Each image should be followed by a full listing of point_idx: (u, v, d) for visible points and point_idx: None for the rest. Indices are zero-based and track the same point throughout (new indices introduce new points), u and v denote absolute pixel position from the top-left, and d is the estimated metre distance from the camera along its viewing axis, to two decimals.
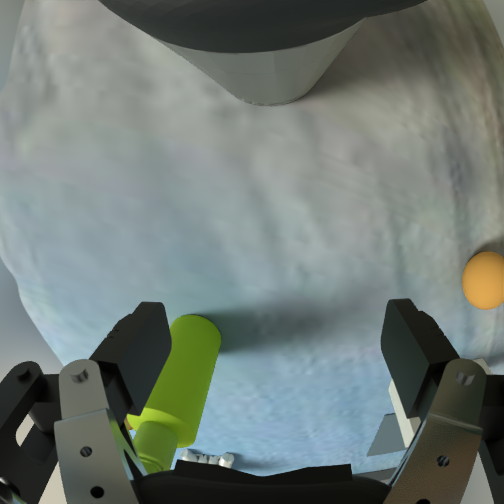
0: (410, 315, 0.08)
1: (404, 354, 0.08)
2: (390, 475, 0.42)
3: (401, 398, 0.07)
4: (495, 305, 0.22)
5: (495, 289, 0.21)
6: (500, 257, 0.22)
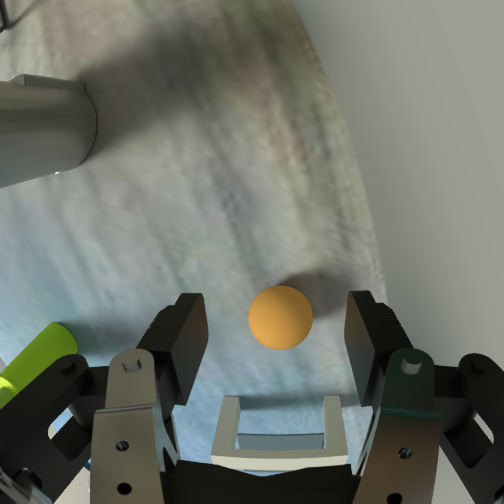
0: (366, 306, 0.09)
1: (359, 343, 0.09)
2: None
3: (358, 386, 0.08)
4: (279, 346, 0.26)
5: (268, 329, 0.25)
6: (286, 294, 0.26)
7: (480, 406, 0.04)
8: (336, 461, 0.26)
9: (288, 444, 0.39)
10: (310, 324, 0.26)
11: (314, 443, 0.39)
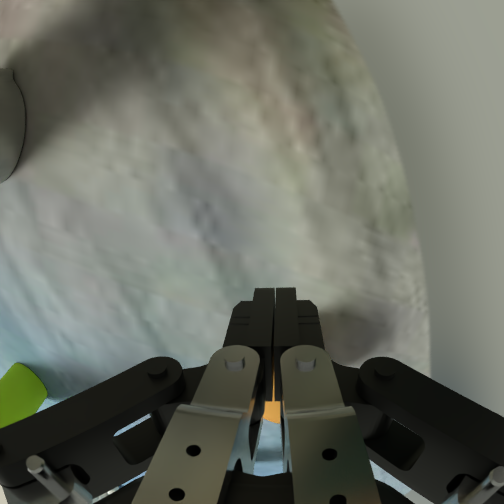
0: (284, 302, 0.10)
1: None
2: None
3: None
4: None
5: (270, 406, 0.16)
6: None
7: (398, 414, 0.05)
8: None
9: None
10: None
11: None
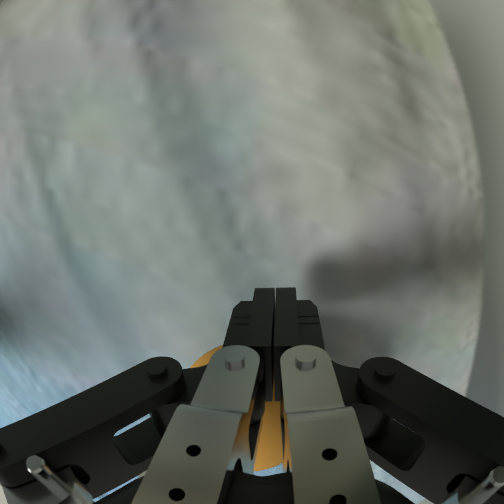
0: (285, 302, 0.10)
1: None
2: None
3: None
4: None
5: None
6: None
7: (398, 414, 0.05)
8: None
9: None
10: None
11: None
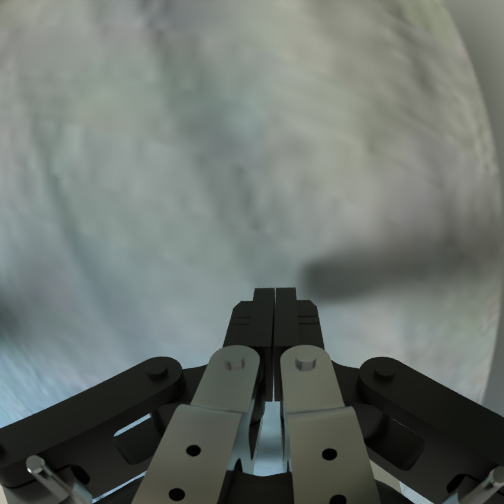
0: (285, 302, 0.10)
1: None
2: None
3: None
4: None
5: None
6: None
7: (397, 414, 0.05)
8: None
9: None
10: None
11: None
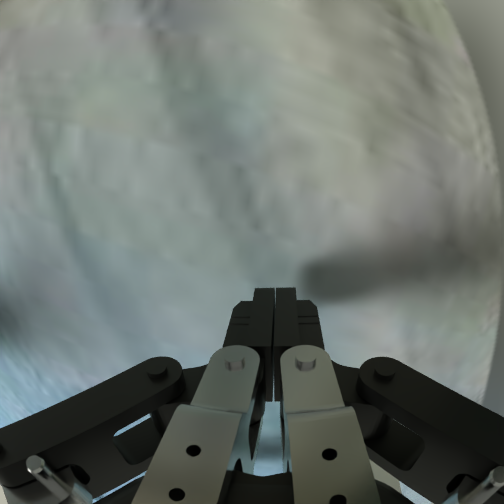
0: (285, 302, 0.10)
1: None
2: None
3: None
4: None
5: None
6: None
7: (397, 414, 0.05)
8: None
9: None
10: None
11: None
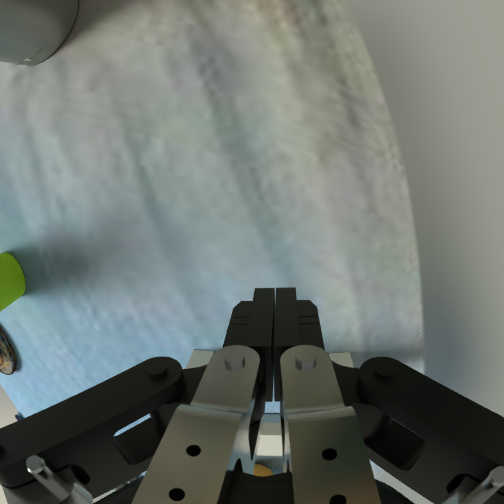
0: (284, 302, 0.10)
1: None
2: None
3: None
4: None
5: None
6: (258, 468, 0.32)
7: (397, 414, 0.05)
8: None
9: None
10: None
11: None
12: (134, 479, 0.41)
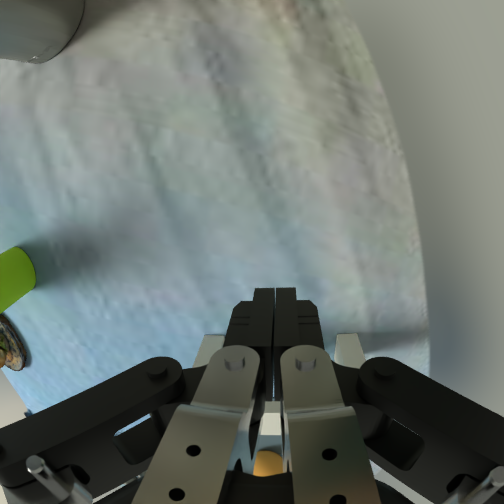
0: (285, 302, 0.10)
1: None
2: None
3: None
4: None
5: (257, 474, 0.31)
6: (269, 454, 0.33)
7: (398, 414, 0.05)
8: None
9: None
10: None
11: None
12: (144, 472, 0.42)
